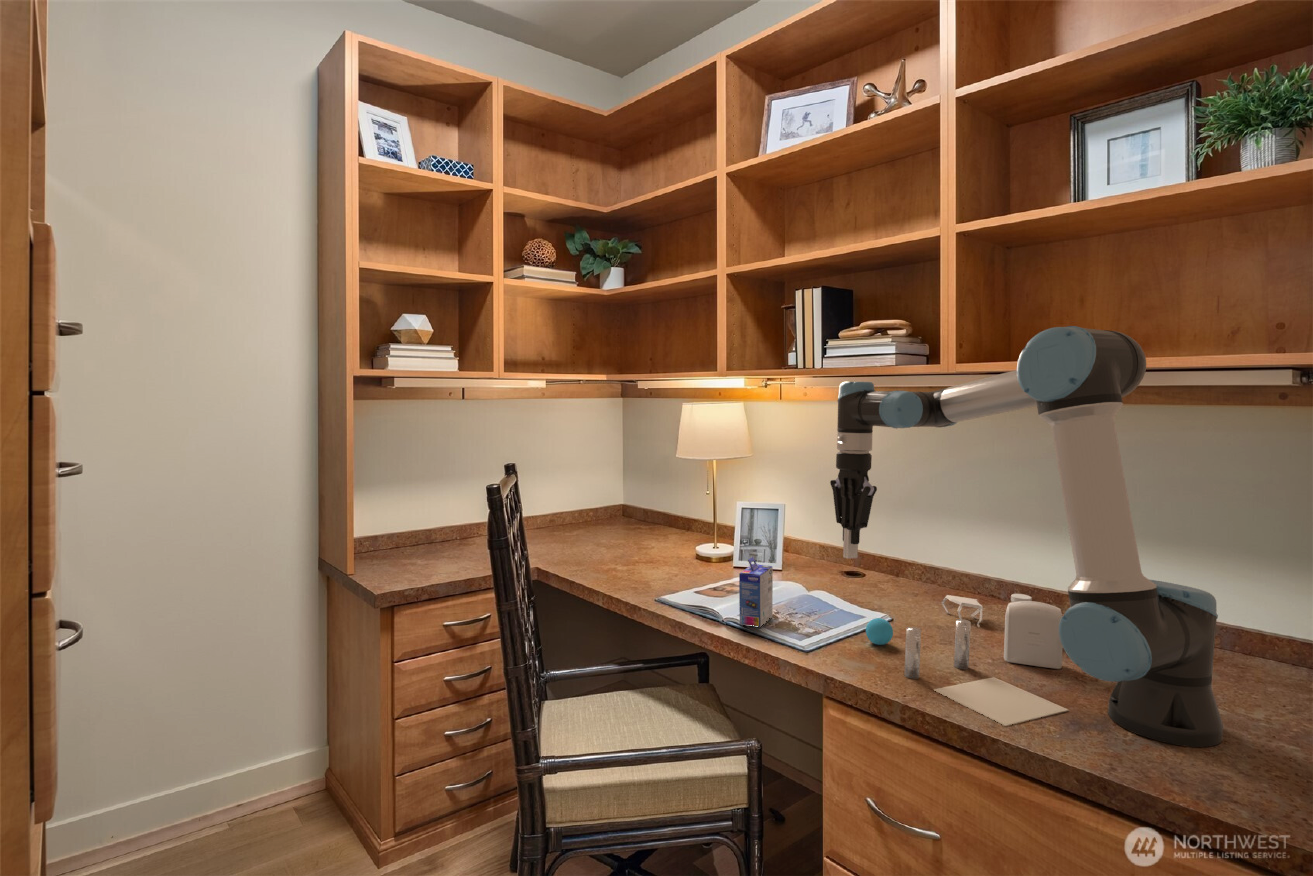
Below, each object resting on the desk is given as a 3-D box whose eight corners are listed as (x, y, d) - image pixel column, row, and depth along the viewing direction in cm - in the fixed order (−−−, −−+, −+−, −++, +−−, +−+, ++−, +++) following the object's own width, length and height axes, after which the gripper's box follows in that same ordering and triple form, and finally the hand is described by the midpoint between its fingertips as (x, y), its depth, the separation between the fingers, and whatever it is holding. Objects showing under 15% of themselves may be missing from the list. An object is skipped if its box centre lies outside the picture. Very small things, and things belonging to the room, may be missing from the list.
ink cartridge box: (750, 613, 172) (752, 553, 171) (773, 617, 170) (774, 556, 169) (737, 625, 163) (738, 562, 162) (760, 629, 161) (762, 565, 160)
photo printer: (1003, 663, 143) (1006, 601, 142) (1002, 656, 146) (1005, 596, 146) (1062, 672, 138) (1066, 608, 138) (1060, 664, 142) (1063, 603, 142)
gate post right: (971, 668, 139) (973, 622, 139) (961, 670, 138) (963, 624, 138) (960, 663, 142) (962, 618, 141) (951, 665, 141) (953, 620, 140)
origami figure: (995, 622, 169) (996, 601, 169) (979, 629, 163) (980, 608, 163) (946, 610, 178) (947, 590, 177) (929, 616, 172) (930, 596, 172)
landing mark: (1068, 710, 121) (1068, 709, 121) (1005, 726, 115) (1005, 725, 115) (993, 678, 135) (993, 677, 135) (933, 690, 128) (933, 689, 128)
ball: (898, 646, 151) (899, 621, 150) (877, 650, 148) (878, 624, 148) (879, 638, 156) (880, 613, 155) (859, 641, 153) (860, 616, 153)
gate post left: (922, 677, 134) (924, 630, 134) (911, 679, 133) (913, 632, 133) (912, 672, 137) (913, 626, 136) (901, 674, 135) (903, 627, 135)
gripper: (821, 449, 163) (818, 552, 164) (860, 454, 151) (856, 565, 152) (848, 449, 166) (844, 550, 168) (888, 454, 154) (884, 562, 156)
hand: (850, 557), depth 160 cm, fingers closed
